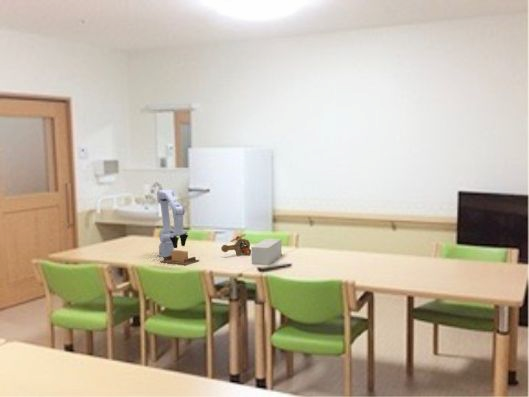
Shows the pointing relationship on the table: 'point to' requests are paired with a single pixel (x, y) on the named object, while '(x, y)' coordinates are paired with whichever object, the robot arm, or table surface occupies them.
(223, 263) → the table surface
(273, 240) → the grey rectangular brick
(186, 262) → the walnut cradle
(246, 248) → the brown lumpy shape
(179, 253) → the tall tan cuboid
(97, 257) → the table surface
